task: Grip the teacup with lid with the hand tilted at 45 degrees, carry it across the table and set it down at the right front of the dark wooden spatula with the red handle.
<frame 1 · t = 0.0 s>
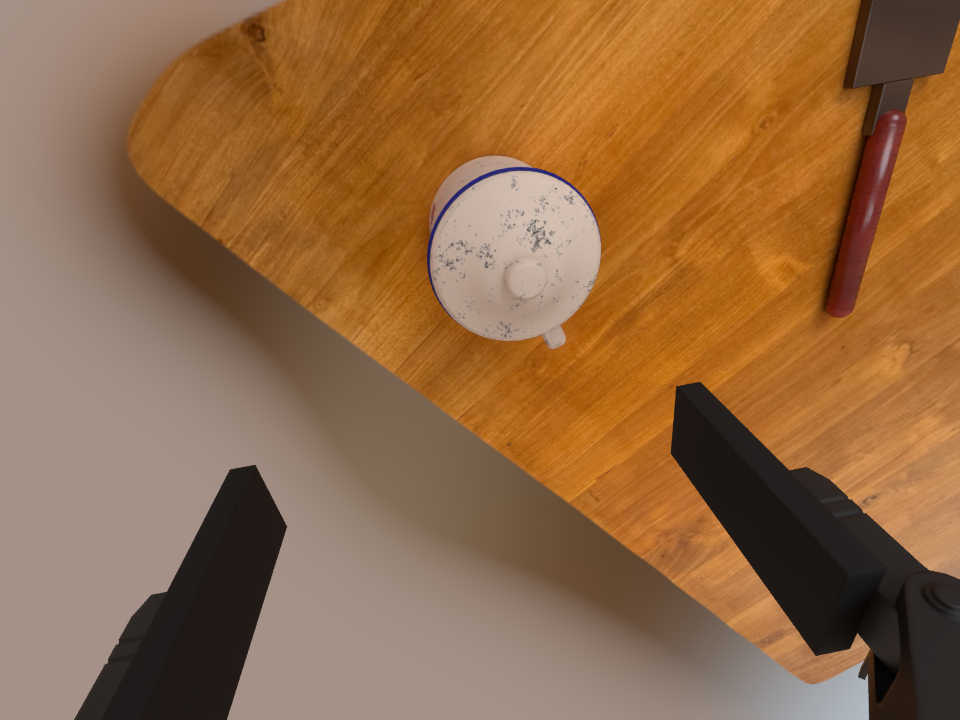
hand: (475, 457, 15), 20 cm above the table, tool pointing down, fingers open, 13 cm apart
spatula: (870, 148, 32), on the table
teacup with lid: (502, 241, 32), on the table
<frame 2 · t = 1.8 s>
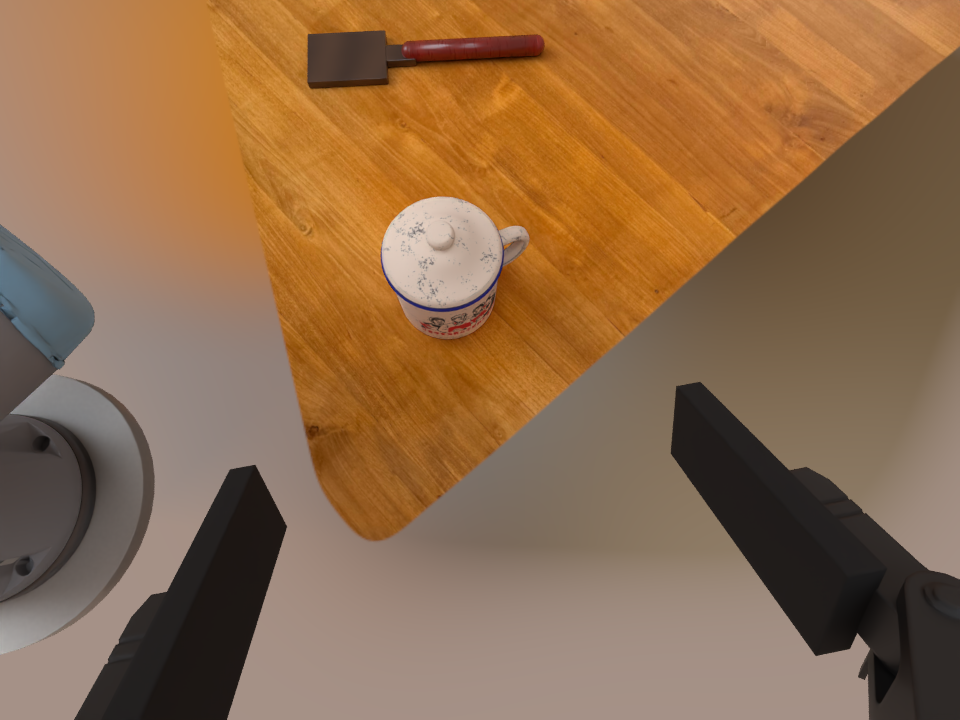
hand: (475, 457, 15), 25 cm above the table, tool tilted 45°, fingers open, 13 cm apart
spatula: (425, 58, 48), on the table
teacup with lid: (462, 289, 43), on the table
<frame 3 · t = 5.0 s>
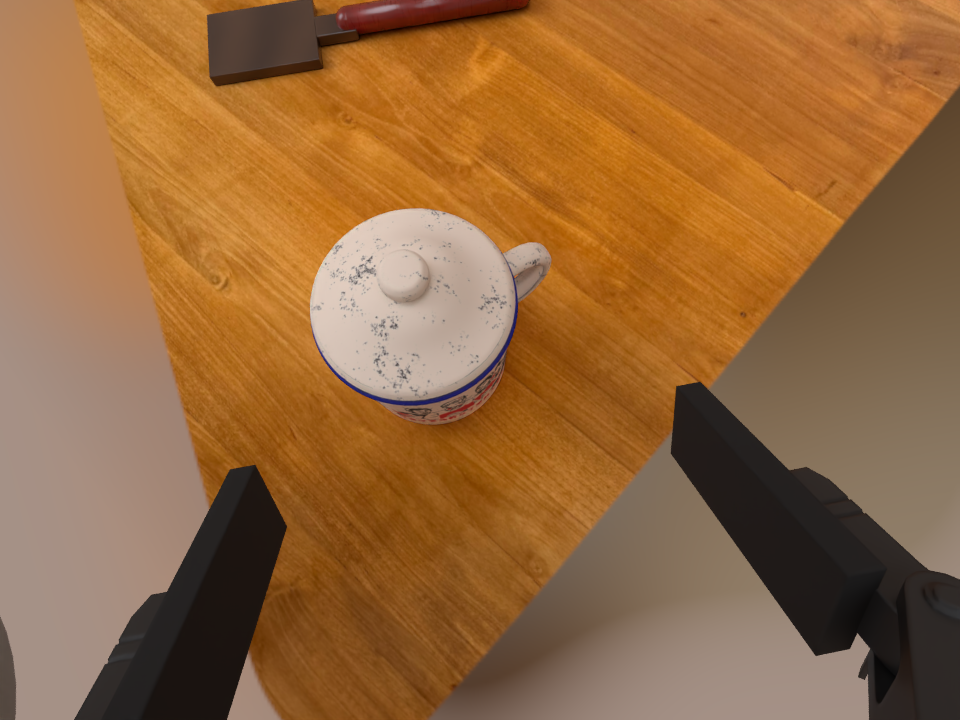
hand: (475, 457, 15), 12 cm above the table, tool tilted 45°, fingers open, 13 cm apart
spatula: (371, 29, 35), on the table
teacup with lid: (455, 344, 29), on the table
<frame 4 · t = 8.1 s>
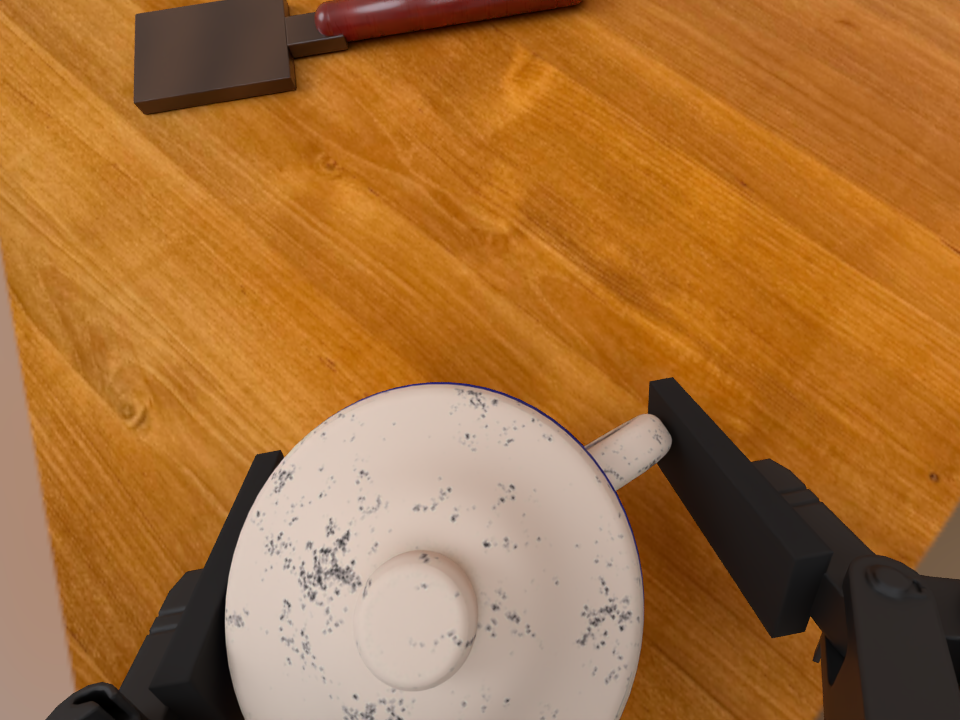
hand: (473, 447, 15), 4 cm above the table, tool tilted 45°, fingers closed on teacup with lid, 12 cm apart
spatula: (365, 34, 25), on the table
teacup with lid: (490, 521, 19), on the table, touching gripper
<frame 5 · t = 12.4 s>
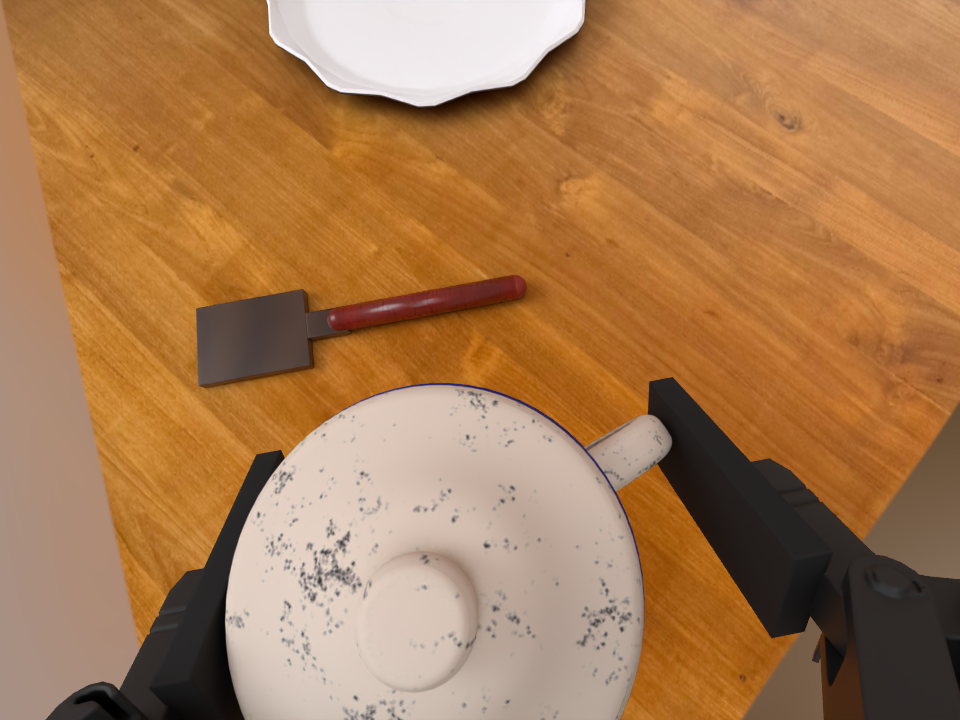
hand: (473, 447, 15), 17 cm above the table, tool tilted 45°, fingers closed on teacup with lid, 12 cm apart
spatula: (363, 319, 35), on the table
teacup with lid: (491, 521, 19), point 13 cm above the table, touching gripper
when the fingers open (4 cm above the table, at t = 17.0 s): teacup with lid stays where it is, on the table.
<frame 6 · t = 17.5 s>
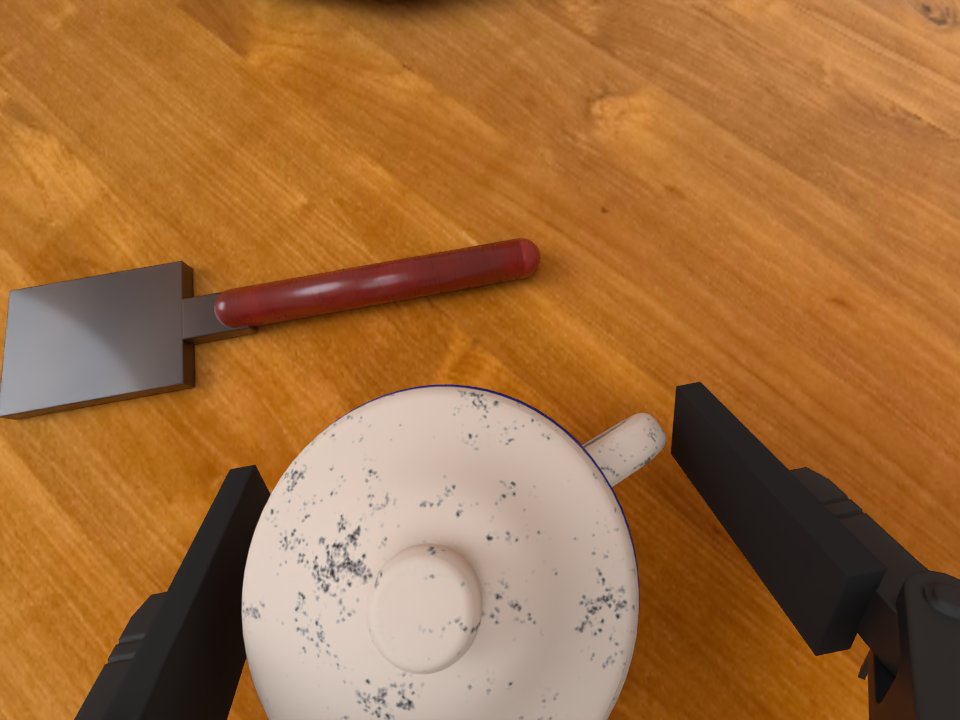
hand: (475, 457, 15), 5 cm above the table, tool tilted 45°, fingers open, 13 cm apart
spatula: (278, 310, 22), on the table
teacup with lid: (492, 517, 19), on the table
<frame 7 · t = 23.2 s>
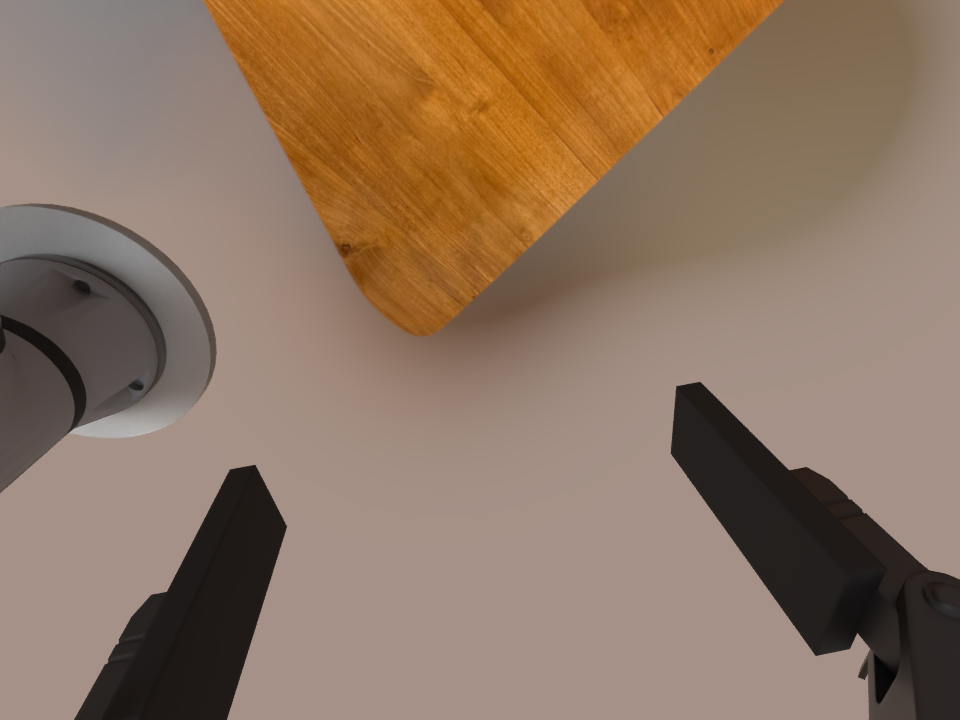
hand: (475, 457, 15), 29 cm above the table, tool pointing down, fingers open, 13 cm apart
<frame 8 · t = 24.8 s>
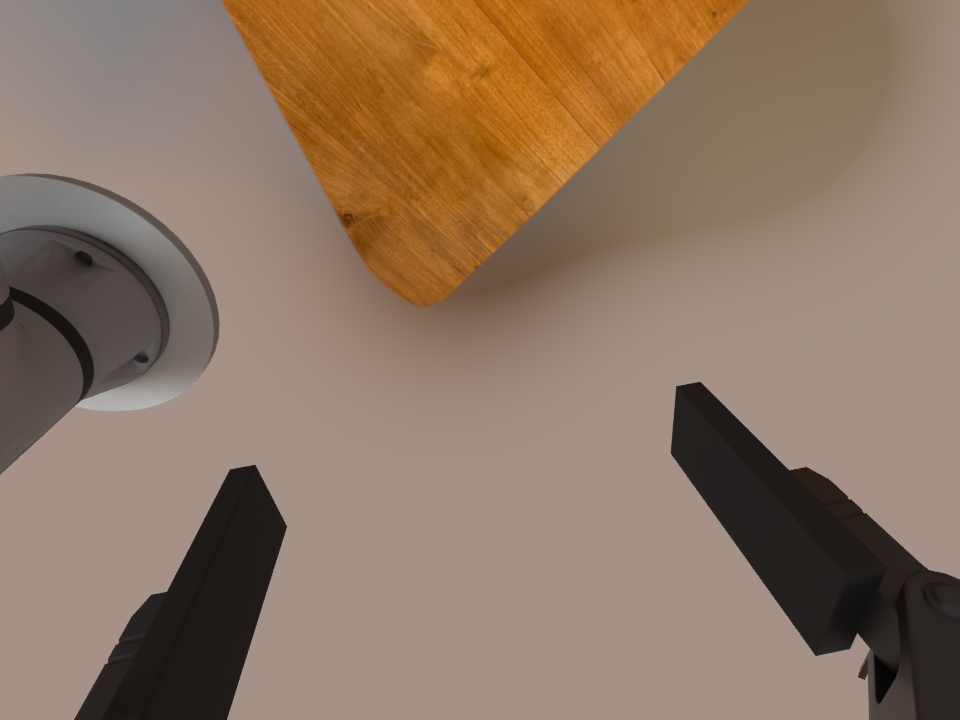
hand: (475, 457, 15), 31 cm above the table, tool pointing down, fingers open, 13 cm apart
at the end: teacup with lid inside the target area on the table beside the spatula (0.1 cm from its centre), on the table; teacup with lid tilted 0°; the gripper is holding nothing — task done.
